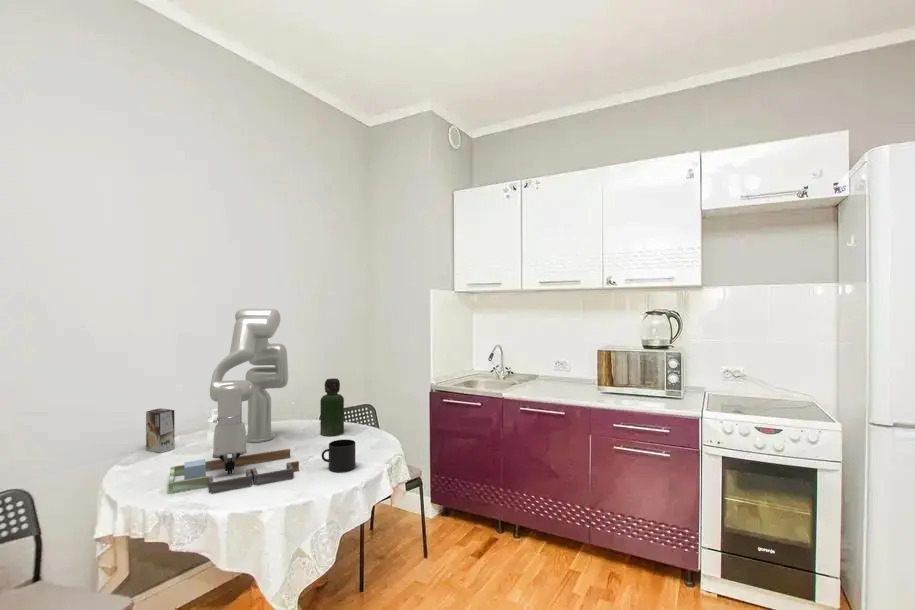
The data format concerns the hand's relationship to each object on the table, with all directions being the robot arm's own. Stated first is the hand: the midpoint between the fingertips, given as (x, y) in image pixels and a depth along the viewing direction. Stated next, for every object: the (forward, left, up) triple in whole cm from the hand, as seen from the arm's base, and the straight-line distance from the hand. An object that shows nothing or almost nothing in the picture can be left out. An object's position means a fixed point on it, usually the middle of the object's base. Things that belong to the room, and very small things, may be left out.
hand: (229, 472), depth 158 cm
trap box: (+3, +2, -1) cm, 4 cm away
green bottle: (-33, +44, -1) cm, 55 cm away
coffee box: (-45, -23, -1) cm, 50 cm away
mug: (+13, +34, -1) cm, 37 cm away
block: (+1, -11, -1) cm, 11 cm away
